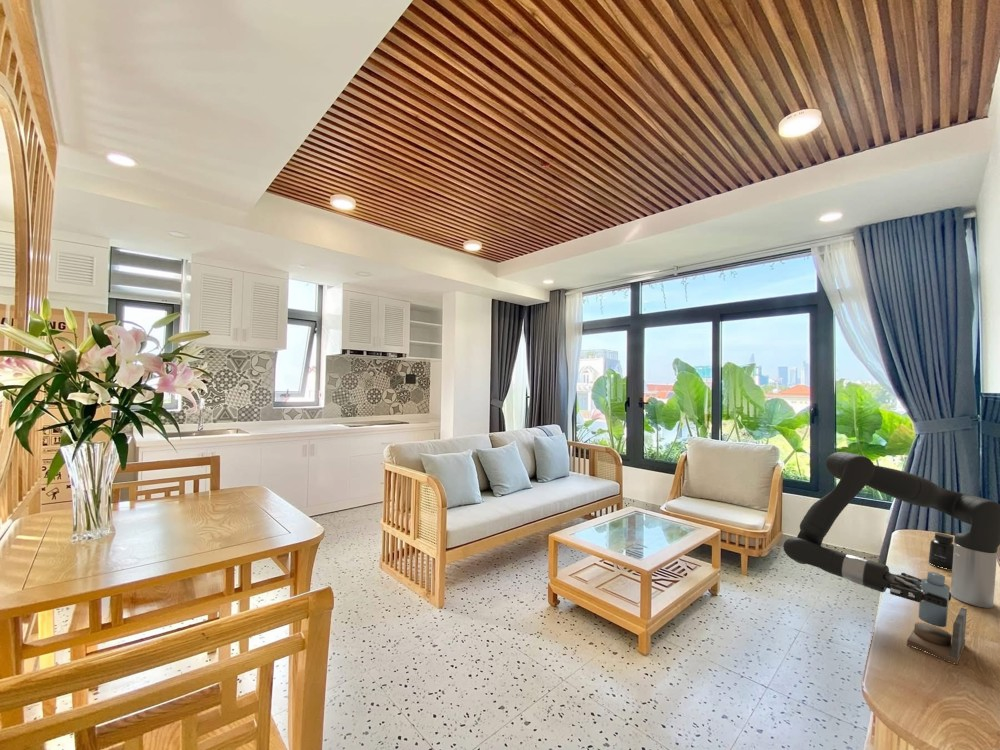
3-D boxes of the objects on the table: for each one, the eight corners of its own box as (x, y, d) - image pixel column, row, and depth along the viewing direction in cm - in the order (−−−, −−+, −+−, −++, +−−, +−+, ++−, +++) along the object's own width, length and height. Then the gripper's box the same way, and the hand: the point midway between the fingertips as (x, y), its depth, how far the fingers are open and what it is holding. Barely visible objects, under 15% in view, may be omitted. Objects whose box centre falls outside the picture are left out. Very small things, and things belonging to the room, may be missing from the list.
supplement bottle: (934, 568, 160) (937, 536, 160) (924, 560, 166) (926, 530, 166) (959, 572, 157) (961, 540, 157) (947, 564, 164) (950, 533, 164)
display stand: (917, 627, 120) (920, 594, 120) (964, 644, 113) (967, 609, 113) (906, 645, 112) (909, 609, 111) (957, 665, 104) (959, 627, 104)
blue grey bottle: (920, 612, 116) (924, 568, 116) (947, 622, 112) (952, 576, 112) (916, 618, 113) (920, 572, 113) (944, 629, 109) (948, 581, 109)
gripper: (858, 565, 120) (945, 593, 106) (872, 554, 128) (954, 578, 115) (856, 592, 120) (943, 623, 106) (870, 578, 128) (952, 606, 115)
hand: (948, 600), depth 111 cm, fingers closed on blue grey bottle, 5 cm apart
